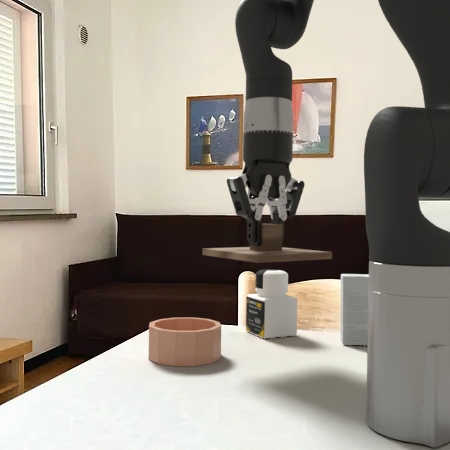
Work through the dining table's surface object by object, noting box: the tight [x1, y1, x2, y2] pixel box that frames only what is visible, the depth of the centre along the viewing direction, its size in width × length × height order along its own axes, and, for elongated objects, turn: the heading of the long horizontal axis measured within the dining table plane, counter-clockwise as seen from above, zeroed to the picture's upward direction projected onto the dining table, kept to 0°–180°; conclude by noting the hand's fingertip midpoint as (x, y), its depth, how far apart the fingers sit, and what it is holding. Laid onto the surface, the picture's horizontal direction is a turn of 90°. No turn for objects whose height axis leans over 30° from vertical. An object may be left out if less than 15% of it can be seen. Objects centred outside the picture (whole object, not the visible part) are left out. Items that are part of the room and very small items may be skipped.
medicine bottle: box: [245, 268, 298, 340], centre depth 100 cm, size 7×7×12 cm
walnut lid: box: [201, 223, 333, 264], centre depth 81 cm, size 14×14×5 cm
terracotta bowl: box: [148, 316, 222, 367], centre depth 83 cm, size 11×11×5 cm
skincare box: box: [340, 273, 369, 347], centre depth 93 cm, size 6×4×12 cm
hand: (265, 244), depth 81 cm, fingers closed on walnut lid, 3 cm apart
